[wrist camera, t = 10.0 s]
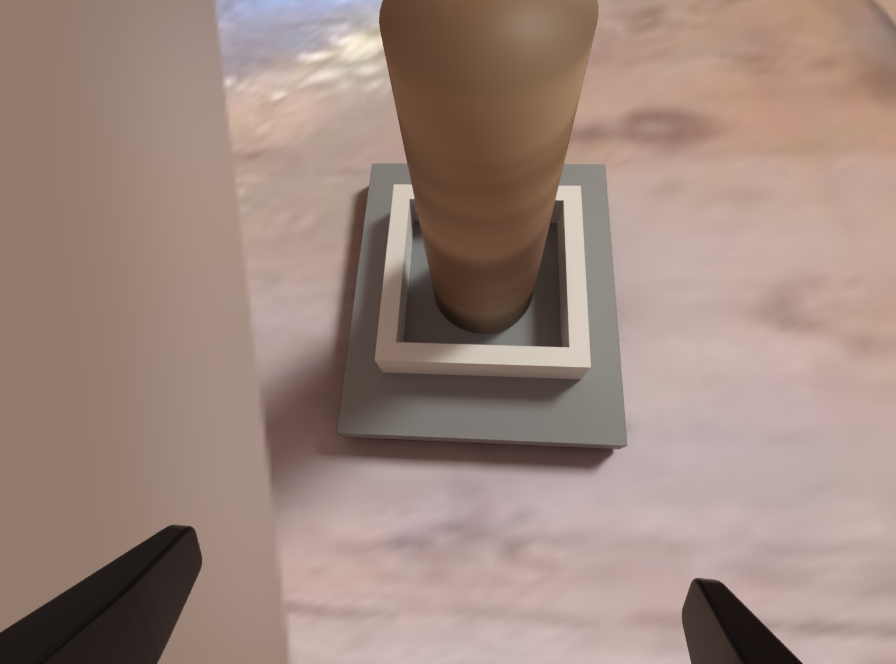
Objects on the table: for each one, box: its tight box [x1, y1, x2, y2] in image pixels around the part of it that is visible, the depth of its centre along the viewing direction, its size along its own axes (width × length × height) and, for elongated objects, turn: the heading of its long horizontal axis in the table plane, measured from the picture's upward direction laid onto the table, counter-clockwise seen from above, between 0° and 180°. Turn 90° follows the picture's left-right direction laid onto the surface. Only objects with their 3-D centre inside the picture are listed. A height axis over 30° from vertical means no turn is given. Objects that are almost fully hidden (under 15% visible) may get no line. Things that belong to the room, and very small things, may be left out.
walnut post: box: [379, 0, 598, 333], centre depth 16 cm, size 5×5×13 cm
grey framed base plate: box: [337, 164, 627, 449], centre depth 22 cm, size 14×12×3 cm
